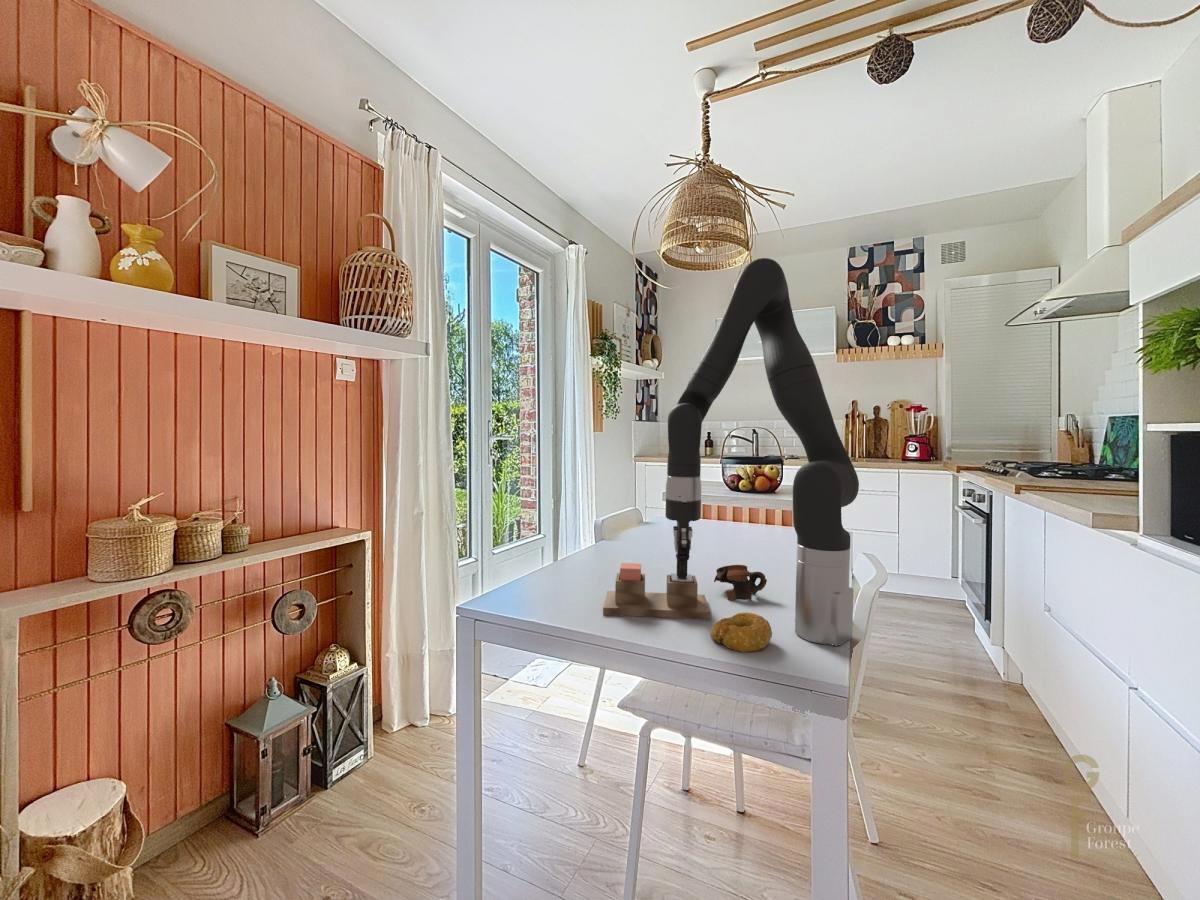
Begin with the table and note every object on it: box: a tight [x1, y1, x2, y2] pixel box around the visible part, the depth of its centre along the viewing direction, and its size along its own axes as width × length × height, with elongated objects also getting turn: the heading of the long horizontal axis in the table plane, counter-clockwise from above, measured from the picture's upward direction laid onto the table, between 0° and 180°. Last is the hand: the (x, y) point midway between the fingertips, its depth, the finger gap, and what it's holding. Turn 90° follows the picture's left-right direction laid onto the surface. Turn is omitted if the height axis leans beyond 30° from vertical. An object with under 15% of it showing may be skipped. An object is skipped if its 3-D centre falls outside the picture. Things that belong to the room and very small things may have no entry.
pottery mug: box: [713, 564, 768, 601], centre depth 123 cm, size 12×10×8 cm
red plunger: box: [619, 562, 642, 581], centre depth 114 cm, size 4×4×5 cm
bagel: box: [710, 612, 773, 653], centre depth 96 cm, size 10×11×5 cm
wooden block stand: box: [602, 572, 711, 620], centre depth 113 cm, size 22×11×6 cm, turn 84°
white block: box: [670, 573, 693, 583], centre depth 113 cm, size 4×4×5 cm
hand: (681, 576), depth 113 cm, fingers closed
